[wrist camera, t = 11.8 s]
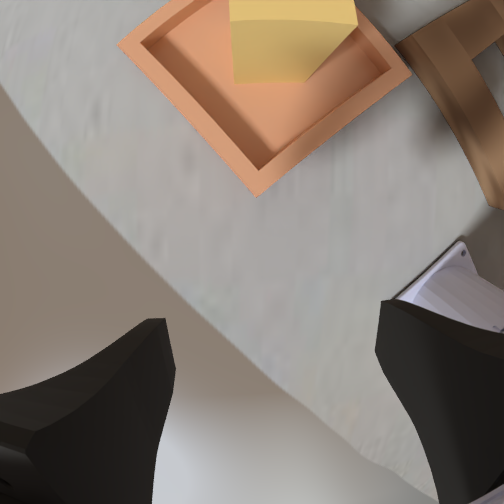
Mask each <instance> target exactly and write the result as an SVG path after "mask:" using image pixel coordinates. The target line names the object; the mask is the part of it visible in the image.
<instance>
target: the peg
mask: <svg viewBox="0 0 504 504" xmlns="http://www.w3.org/2000/svg"><path fill="white" fill-rule="evenodd" d="M229 12H230V29H231V45H232V60H233V74H234V84H250V83H305V81H306V80H307V79H308V78H309V77H310V76H311V75H312V74H313V73H314V71H315V70H316V69H317V68H318V67H319V66H320V65H321V64H322V63H323V62H324V61H325V59H326V58H327V57H328V56H329V55H330V54H331V53H332V52H333V51H334V50H335V49H336V48H337V47H338V46H339V45H340V43H341V42H342V41H343V40H344V39H345V38H346V37H347V36H348V35H349V34H350V33H351V32H352V31H353V30H354V29H355V28H356V27H357V26H358V21H357V15H356V9H355V4H354V0H229Z"/></svg>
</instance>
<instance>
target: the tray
mask: <svg viewBox="0 0 504 504" xmlns="http://www.w3.org/2000/svg"><path fill="white" fill-rule="evenodd" d="M355 9H356V15H357V21H358V26H357V27H356V28H355V29H354V30H353V31H352V32H351V33H350V34H349V35H348V36H347V37H346V38H345V39H344V40H343V41H342V42H341V43H340V45H339V46H338V47H337V48H336V49H335V50H334V51H333V52H332V53H331V54H330V55H329V56H328V57H327V58H326V59H325V61H324V62H323V63H322V64H321V65H320V66H319V67H318V68H317V69H316V70H315V71H314V73H313V74H312V75H311V76H310V77H309V78H308V79H307V80H306V81H305V83H250V84H234V74H233V60H232V45H231V29H230V12H229V0H171V1H169V2H168V3H167V4H165V5H164V6H163V7H161V8H160V9H159V10H157V11H156V12H155V13H154V14H152V15H151V16H150V17H148V18H147V19H146V20H145V21H144V22H142V23H141V24H140V25H139V26H137V27H136V28H135V29H134V30H133V31H132V32H130V33H129V34H128V35H127V36H126V37H125V38H123V39H122V40H121V41H120V42H119V43H118V44H117V46H118V47H119V48H120V49H121V50H122V51H123V52H124V53H125V54H126V55H127V56H128V57H129V58H130V59H131V60H132V61H133V62H134V63H135V64H136V66H137V67H138V68H139V69H140V70H141V71H142V72H143V73H144V74H145V75H146V76H147V77H148V78H149V79H150V80H151V81H152V82H153V83H154V84H155V86H156V87H157V88H158V89H159V90H160V91H161V92H162V93H163V94H164V95H165V96H166V97H167V98H168V99H169V101H170V102H171V103H172V104H173V105H174V106H175V107H176V108H177V109H178V110H179V111H180V113H181V114H182V115H183V116H184V117H185V118H186V119H187V120H188V121H189V122H190V123H191V125H192V126H193V127H194V128H195V129H196V130H197V131H198V132H199V133H200V135H201V136H202V137H203V138H204V139H205V140H206V141H207V142H208V143H209V145H210V146H211V147H212V148H213V149H214V150H215V151H216V152H217V154H218V155H219V156H220V157H221V158H222V159H223V160H224V161H225V163H226V164H227V165H228V166H229V167H230V168H231V169H232V171H233V172H234V173H235V174H236V175H237V176H238V177H239V179H240V180H241V181H242V182H243V183H244V184H245V185H246V187H247V188H248V189H249V190H250V191H251V192H252V194H253V195H254V196H255V197H256V198H257V197H258V196H259V195H260V194H261V193H263V192H264V191H265V190H266V189H267V188H269V187H270V186H271V185H272V184H273V183H275V182H276V181H277V180H278V179H280V178H281V177H282V176H283V175H284V174H286V173H287V172H288V171H289V170H291V169H292V168H293V167H294V166H295V165H297V164H298V163H299V162H300V161H302V160H303V159H304V158H305V157H307V156H308V155H309V154H310V153H311V152H313V151H314V150H315V149H316V148H318V147H319V146H320V145H321V144H323V143H324V142H325V141H326V140H328V139H329V138H330V137H332V136H333V135H334V134H335V133H337V132H338V131H339V130H340V129H342V128H343V127H344V126H345V125H347V124H348V123H349V122H351V121H352V120H353V119H354V118H356V117H357V116H358V115H360V114H361V113H362V112H364V111H365V110H366V109H367V108H369V107H370V106H371V105H373V104H374V103H375V102H377V101H378V100H379V99H380V98H382V97H383V96H384V95H386V94H387V93H388V92H390V91H391V90H392V89H394V88H395V87H396V86H398V85H399V84H400V83H402V82H403V81H404V80H406V79H407V78H409V77H410V76H411V75H412V73H411V72H410V71H409V69H408V68H407V67H406V65H405V64H404V63H403V61H402V60H401V59H400V57H399V56H398V55H397V53H396V52H395V51H394V50H393V48H392V47H391V46H390V45H389V43H388V42H387V41H386V40H385V39H384V37H383V36H382V35H381V34H380V33H379V31H378V30H377V29H376V28H375V27H374V26H373V25H372V23H371V22H370V21H369V20H368V19H367V18H366V17H365V16H364V15H363V14H362V12H361V11H360V10H359V9H358V8H357V7H356V6H355Z"/></svg>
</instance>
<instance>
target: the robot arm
mask: <svg viewBox="0 0 504 504" xmlns="http://www.w3.org/2000/svg"><path fill="white" fill-rule="evenodd" d="M462 251H463V254H462V255H461V253H462ZM375 353H376V356H377V358H378V361H379V363H380V366H381V368H382V370H383V373H384V374H385V376H386V378H387V380H388V381H389V383H390V385H391V386H392V388H393V390H394V391H395V393H396V395H397V396H398V398H399V400H400V401H401V403H402V405H403V406H404V408H405V410H406V411H407V413H408V415H409V416H410V418H411V420H412V422H413V424H414V426H415V428H416V430H417V433H418V435H419V438H420V440H421V443H422V445H423V448H424V451H425V454H426V456H427V459H428V462H429V465H430V468H431V472H432V475H433V479H434V483H435V486H436V490H437V494H438V499H439V504H504V291H503V290H501V289H500V288H498V287H496V286H495V285H493V284H492V283H490V282H488V281H487V280H485V279H483V278H482V277H480V276H479V275H478V273H477V270H476V268H475V265H474V263H473V261H472V258H471V256H470V254H469V251H468V249H467V247H466V244H465V243H464V242H462V241H458V242H456V243H455V244H454V245H453V246H452V247H451V248H450V249H449V250H448V251H447V252H446V253H445V254H444V255H443V256H442V257H441V258H440V259H439V260H438V261H437V262H436V263H435V264H434V265H433V266H431V267H430V268H429V269H428V270H427V271H426V272H425V273H424V274H423V275H422V276H421V277H419V278H418V279H417V280H416V281H415V282H414V283H413V284H412V285H410V286H409V287H408V288H407V289H406V290H405V291H404V292H402V293H401V294H400V295H399V296H398V297H397V298H395V299H392V300H385V301H381V308H380V316H379V324H378V332H377V339H376V345H375ZM175 371H176V367H175V363H174V358H173V354H172V349H171V344H170V339H169V334H168V329H167V325H166V319H165V318H156V319H155V318H154V319H146V320H144V321H143V322H141V323H140V324H139V325H137V326H136V327H134V328H133V329H131V330H130V331H129V332H127V333H126V334H125V335H123V336H122V337H121V338H119V339H118V340H116V341H115V342H114V343H112V344H111V345H109V346H108V347H106V348H105V349H103V350H102V351H100V352H99V353H97V354H96V355H94V356H93V357H91V358H90V359H88V360H86V361H85V362H83V363H81V364H79V365H78V366H76V367H74V368H72V369H70V370H68V371H66V372H64V373H62V374H60V375H57V376H55V377H52V378H50V379H48V380H45V381H43V382H40V383H38V384H35V385H32V386H29V387H25V388H22V389H19V390H15V391H11V392H7V393H3V394H0V504H152V493H153V481H154V471H155V464H156V456H157V450H158V446H159V442H160V438H161V434H162V431H163V427H164V423H165V420H166V416H167V412H168V409H169V405H170V401H171V398H172V394H173V387H174V380H175V379H174V378H175Z"/></svg>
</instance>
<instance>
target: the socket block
mask: <svg viewBox="0 0 504 504" xmlns="http://www.w3.org/2000/svg"><path fill="white" fill-rule="evenodd" d="M493 42H496V44H497V46H498V47H499V49H500V51H501V52H502V54H503V56H504V0H469V1H467V2H466V3H464V4H462V5H460V6H458V7H457V8H455V9H453V10H451V11H450V12H448V13H446V14H445V15H443V16H441V17H439V18H438V19H436V20H434V21H433V22H431V23H429V24H428V25H426V26H425V27H423V28H421V29H420V30H418V31H416V32H415V33H413V34H412V35H410V36H409V37H407V38H405V39H404V40H402V41H401V42H399V43H398V44H396V45H395V47H396V48H397V49H398V50H399V52H400V53H401V54H402V56H403V57H404V58H405V60H406V61H407V62H408V64H409V65H410V66H411V68H412V69H413V70H414V72H415V73H416V75H417V76H418V77H419V79H420V80H421V82H422V83H423V85H424V86H425V87H426V89H427V90H428V92H429V93H430V95H431V96H432V98H433V100H434V101H435V103H436V104H437V106H438V107H439V109H440V111H441V112H442V114H443V116H444V117H445V119H446V121H447V122H448V124H449V126H450V127H451V129H452V131H453V133H454V134H455V136H456V138H457V140H458V142H459V143H460V145H461V147H462V149H463V151H464V153H465V155H466V157H467V159H468V161H469V163H470V165H471V167H472V169H473V171H474V173H475V175H476V177H477V179H478V182H479V184H480V186H481V188H482V190H483V193H484V195H485V197H486V200H487V202H488V204H489V206H492V207H495V208H499V209H502V210H504V117H503V115H502V113H501V111H500V109H499V107H498V105H497V103H496V101H495V100H494V98H493V96H492V94H491V92H490V90H489V89H488V87H487V85H486V83H485V81H484V80H483V78H482V76H481V75H480V73H479V71H478V70H477V68H476V66H475V65H474V63H473V62H472V59H473V58H474V57H476V56H477V55H478V54H479V53H481V52H482V51H483V50H485V49H486V48H487V47H488V46H490V45H491V44H492V43H493Z"/></svg>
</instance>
